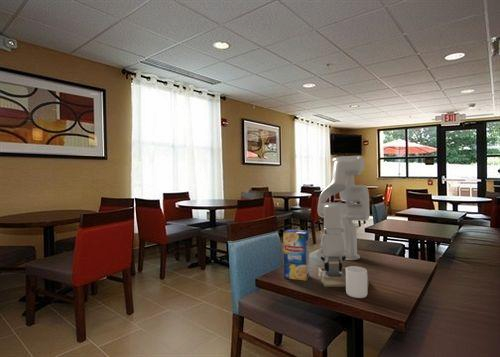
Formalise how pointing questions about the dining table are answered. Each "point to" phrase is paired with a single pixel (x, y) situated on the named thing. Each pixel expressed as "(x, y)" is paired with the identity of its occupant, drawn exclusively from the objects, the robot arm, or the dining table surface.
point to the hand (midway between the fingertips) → (333, 270)
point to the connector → (333, 266)
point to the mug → (356, 281)
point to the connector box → (334, 278)
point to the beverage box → (296, 254)
